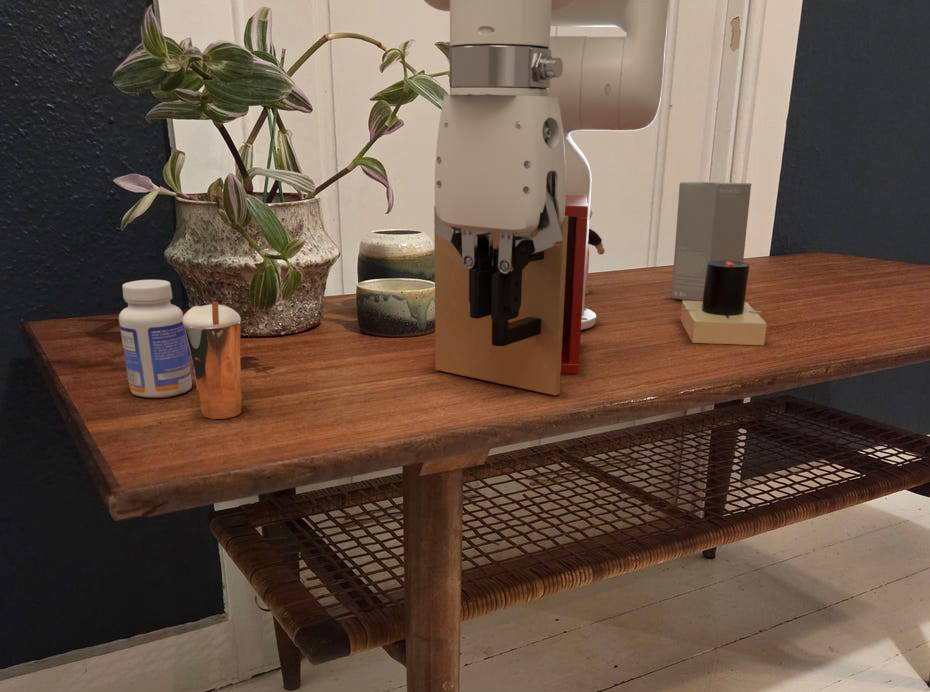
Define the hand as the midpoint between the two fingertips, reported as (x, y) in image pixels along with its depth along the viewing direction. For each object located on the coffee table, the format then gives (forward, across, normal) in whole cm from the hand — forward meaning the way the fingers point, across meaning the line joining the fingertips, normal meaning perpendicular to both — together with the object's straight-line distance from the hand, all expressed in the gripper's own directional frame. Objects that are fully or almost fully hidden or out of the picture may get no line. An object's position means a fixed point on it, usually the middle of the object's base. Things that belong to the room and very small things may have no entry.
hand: (494, 316), depth 74 cm
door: (+8, +4, -4) cm, 10 cm away
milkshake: (+8, +17, +15) cm, 24 cm away
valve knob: (+6, -5, -41) cm, 42 cm away
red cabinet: (+8, +9, -16) cm, 20 cm away
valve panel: (+8, -5, -41) cm, 42 cm away
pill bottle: (+8, +27, +14) cm, 32 cm away
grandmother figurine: (+8, +22, -52) cm, 57 cm away
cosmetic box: (+8, +5, -60) cm, 61 cm away
